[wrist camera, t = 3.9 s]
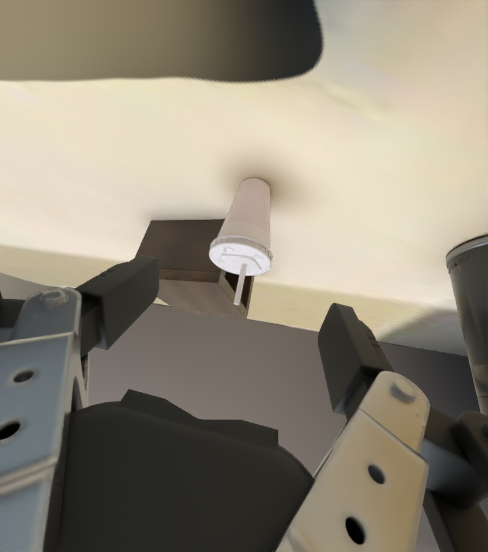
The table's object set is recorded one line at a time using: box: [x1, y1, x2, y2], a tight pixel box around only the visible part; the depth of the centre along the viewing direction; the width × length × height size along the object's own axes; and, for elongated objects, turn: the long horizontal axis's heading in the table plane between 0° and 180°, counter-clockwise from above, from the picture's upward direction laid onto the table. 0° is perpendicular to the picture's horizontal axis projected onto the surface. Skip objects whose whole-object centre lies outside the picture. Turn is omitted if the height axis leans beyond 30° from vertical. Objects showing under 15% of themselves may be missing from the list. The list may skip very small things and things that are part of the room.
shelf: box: [135, 220, 254, 320], centre depth 39 cm, size 14×16×10 cm
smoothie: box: [209, 178, 273, 305], centre depth 24 cm, size 6×6×14 cm
